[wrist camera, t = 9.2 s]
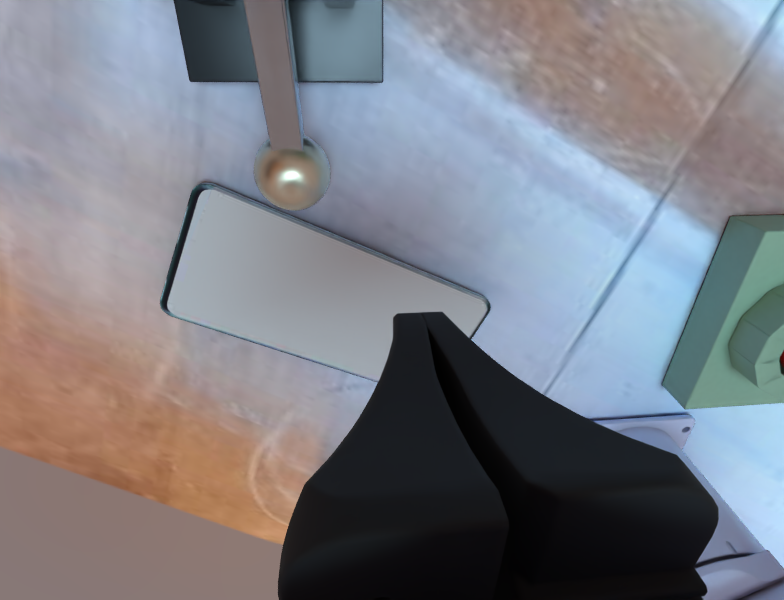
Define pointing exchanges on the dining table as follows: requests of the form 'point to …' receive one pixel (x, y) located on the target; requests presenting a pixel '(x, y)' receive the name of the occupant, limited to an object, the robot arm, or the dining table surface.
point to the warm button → (782, 359)
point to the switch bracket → (309, 32)
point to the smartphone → (299, 285)
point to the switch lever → (283, 114)
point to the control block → (736, 322)
